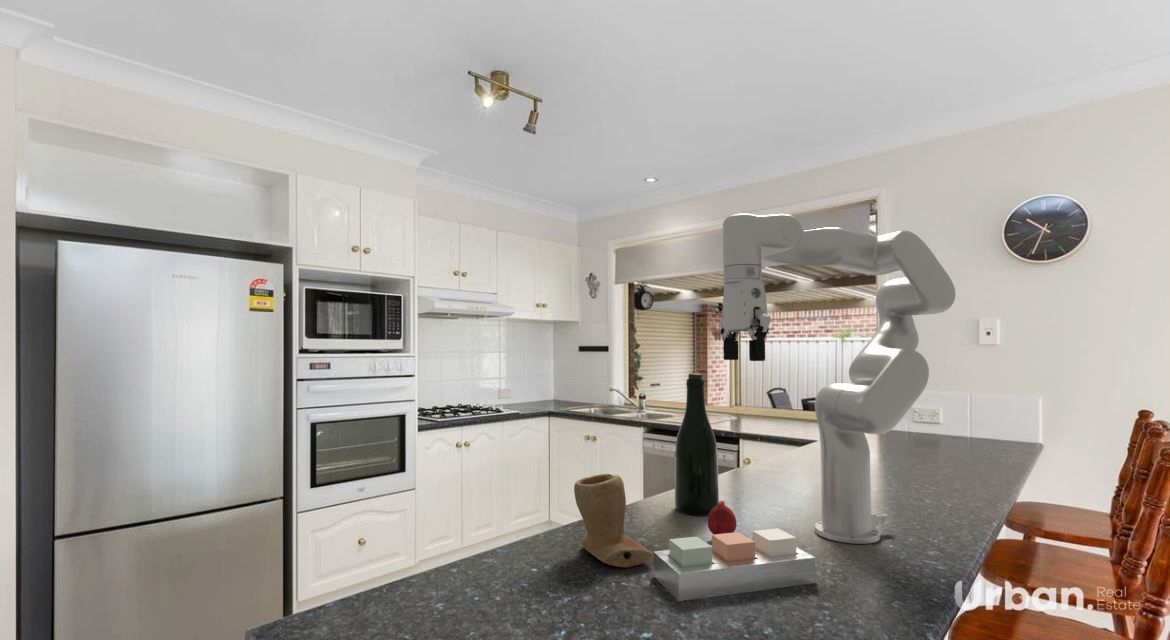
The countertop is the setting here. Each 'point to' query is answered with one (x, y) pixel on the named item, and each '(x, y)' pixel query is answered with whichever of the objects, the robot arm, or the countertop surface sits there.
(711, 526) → the onion
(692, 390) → the green wine bottle
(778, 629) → the countertop surface
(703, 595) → the keypad housing
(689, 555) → the sage key
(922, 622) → the countertop surface
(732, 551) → the terracotta key
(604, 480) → the brown hollow boot-shaped piece
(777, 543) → the cream key
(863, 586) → the countertop surface
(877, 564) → the countertop surface
